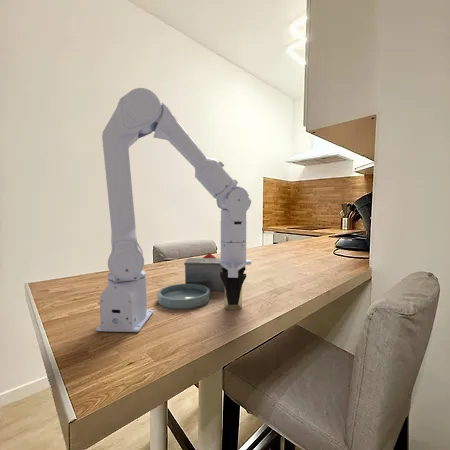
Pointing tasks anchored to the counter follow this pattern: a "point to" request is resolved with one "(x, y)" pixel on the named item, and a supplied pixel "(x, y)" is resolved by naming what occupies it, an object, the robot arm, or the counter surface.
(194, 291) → the plate
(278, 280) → the counter surface
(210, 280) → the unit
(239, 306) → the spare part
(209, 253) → the onion
